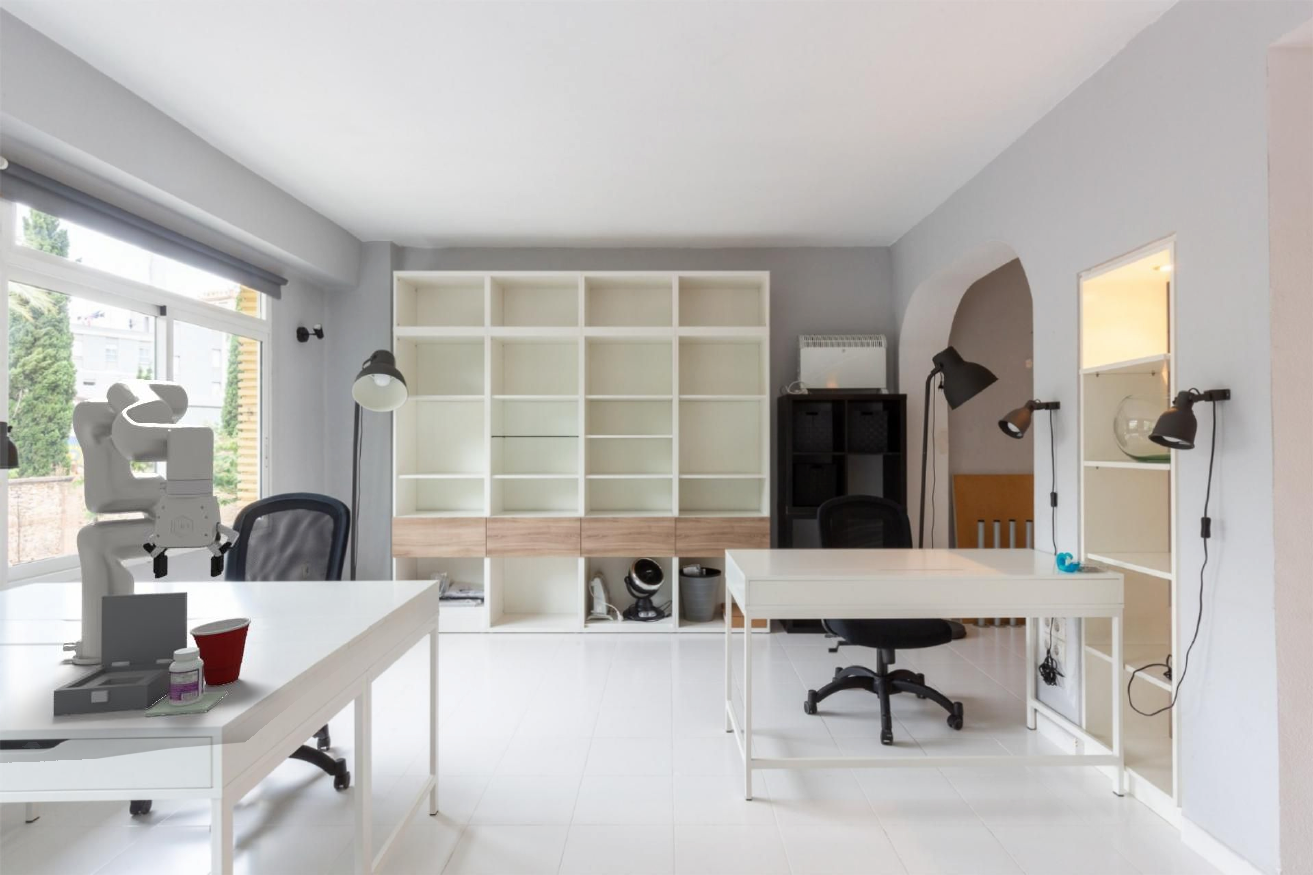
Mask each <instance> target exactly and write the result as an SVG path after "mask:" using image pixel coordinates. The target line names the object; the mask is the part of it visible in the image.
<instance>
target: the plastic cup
mask: <svg viewBox="0 0 1313 875" xmlns="http://www.w3.org/2000/svg"><path fill="white" fill-rule="evenodd" d="M251 622H252V618H250V617H249V618H248V617H236V618H227V619H221V620H217V621H212V622H208V623H205V624H202V625H198V626H196V627H193V628H192V629H190V630H189V635H191V636H192V638H193V640H194V641H195V645H196V647H197V648H199V652H200V655H199V657H198V658H200V659H202V660H203V662H204V682H205V685H206V686H208V687H209V686H210V687H218V686H219V687H220V686H224V685H223V684H226V685H228V683H229V684H232V683H235V682H237V681H238V680H239V677H240V673H241V667H242V663H243V660H244V659H243V658H244V652H245V646H246V641H247V636H248V632H249V627H250V624H252V623H251ZM236 680H237V681H236ZM234 681H235V682H234ZM231 682H232V683H231Z"/></svg>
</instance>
